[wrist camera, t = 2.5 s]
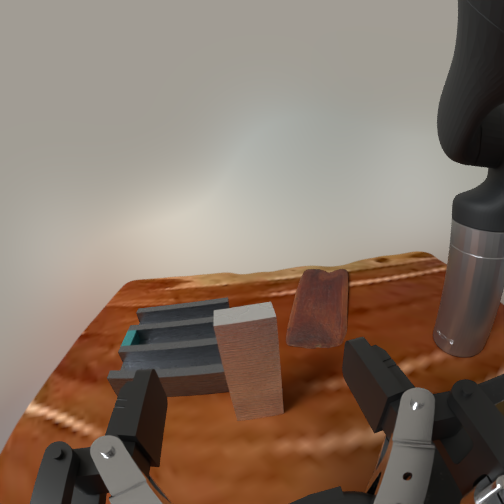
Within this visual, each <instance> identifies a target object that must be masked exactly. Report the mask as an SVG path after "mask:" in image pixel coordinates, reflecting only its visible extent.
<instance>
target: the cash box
mask: <svg viewBox="0 0 504 504" xmlns="http://www.w3.org/2000/svg"><path fill="white" fill-rule="evenodd" d="M478 386H479V387H480V388H481V389H482V390H483V392H484V393H485V394H486V395H487V396H488V398H489V399H490V400H491V401H492V402H493V404H494V405H495V406H496V407H497V409H498V410H499V411H500V412H501V414H502V415H503V416H504V374H502V375H500V376H498V377H495V378H493V379H490V380H488V381H485V382H483V383H480V384H478ZM464 429H465V428H464ZM466 432H467V431H466ZM467 433H468V432H467ZM468 435H469V434H468ZM469 436H470V435H469ZM470 438H471V437H470ZM471 439H472V438H471ZM472 441H473V440H472ZM431 444H434V442H433V441H431ZM434 445H435V444H434ZM462 498H463V495H462V493H461V492H460V490H459V488H458V486H457V484H456V482H455V480H454V478H453V476H452V474H451V473H450V471H449V469H448V467H447V465H446V464H445V462H444V460H443V458H442V456H441V455H440V453H439V451H438V449H437V448H436V446H435V453H434V459H433V465H432V470H431V475H430V480H429V484H428V489H427V493H426V497H425V500H424V504H460V502H461V499H462Z"/></svg>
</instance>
